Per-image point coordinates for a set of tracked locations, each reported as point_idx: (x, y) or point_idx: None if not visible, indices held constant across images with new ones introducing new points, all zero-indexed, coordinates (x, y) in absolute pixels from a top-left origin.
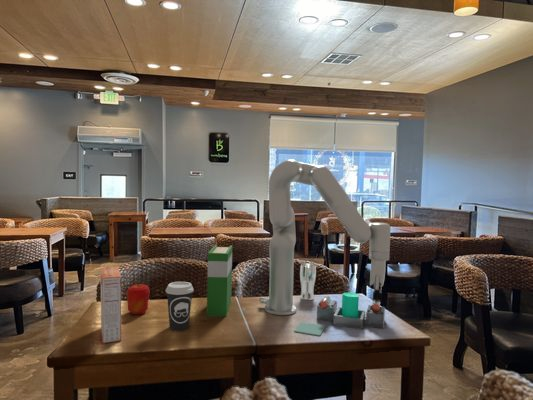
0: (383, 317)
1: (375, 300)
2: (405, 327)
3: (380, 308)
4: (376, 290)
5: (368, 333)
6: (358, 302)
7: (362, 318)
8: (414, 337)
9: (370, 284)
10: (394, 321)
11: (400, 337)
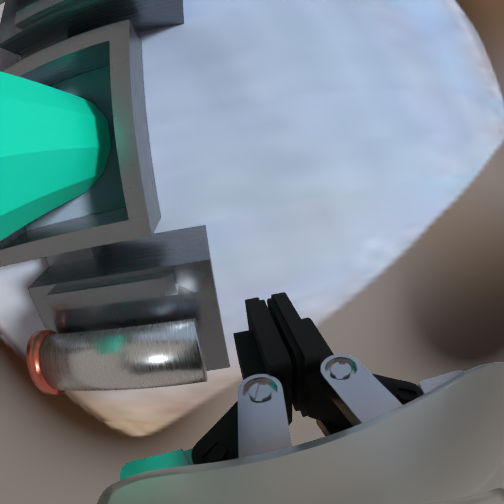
0: None
1: (147, 370)
2: (183, 395)
3: None
4: (220, 437)
5: (7, 284)
6: (11, 233)
7: (3, 263)
8: (107, 419)
9: (103, 494)
10: (233, 353)
11: None
